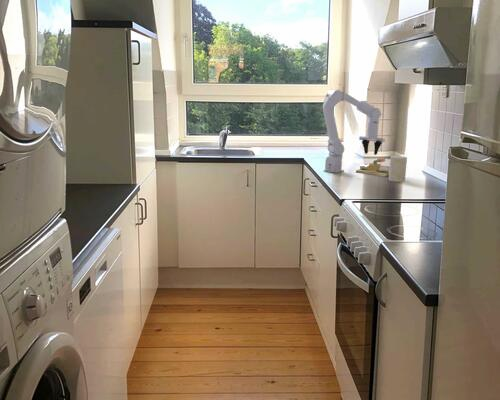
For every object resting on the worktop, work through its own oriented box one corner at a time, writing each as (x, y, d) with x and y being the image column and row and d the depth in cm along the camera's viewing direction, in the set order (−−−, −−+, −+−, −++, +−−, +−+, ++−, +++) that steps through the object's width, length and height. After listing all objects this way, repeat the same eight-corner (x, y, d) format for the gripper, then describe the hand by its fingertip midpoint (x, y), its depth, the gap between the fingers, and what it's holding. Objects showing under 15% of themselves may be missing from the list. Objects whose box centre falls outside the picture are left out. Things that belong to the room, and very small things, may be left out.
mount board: (384, 176, 297) (385, 174, 297) (355, 172, 307) (355, 170, 307) (392, 174, 305) (392, 171, 305) (363, 170, 315) (364, 168, 314)
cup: (393, 182, 281) (395, 158, 278) (385, 179, 289) (387, 156, 286) (408, 181, 283) (410, 158, 281) (399, 178, 291) (401, 155, 288)
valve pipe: (386, 174, 299) (387, 166, 299) (359, 170, 309) (359, 162, 308) (389, 173, 303) (390, 165, 302) (362, 169, 312) (362, 162, 311)
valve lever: (375, 164, 303) (376, 160, 303) (372, 163, 304) (372, 160, 304) (385, 162, 313) (385, 158, 312) (381, 161, 314) (381, 158, 314)
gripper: (388, 130, 308) (386, 154, 311) (363, 128, 316) (362, 152, 319) (382, 130, 302) (380, 155, 305) (358, 128, 311) (356, 153, 314)
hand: (370, 154), depth 312 cm, fingers open, 5 cm apart
